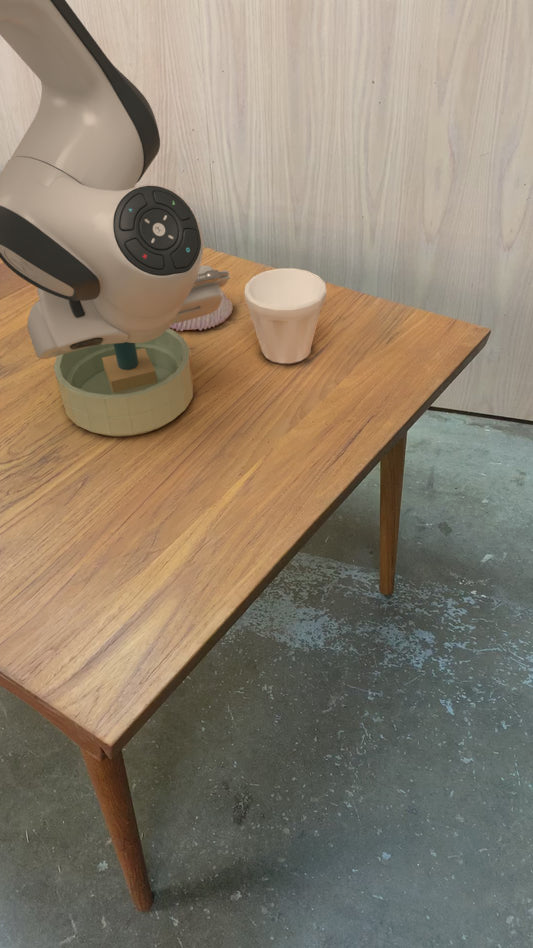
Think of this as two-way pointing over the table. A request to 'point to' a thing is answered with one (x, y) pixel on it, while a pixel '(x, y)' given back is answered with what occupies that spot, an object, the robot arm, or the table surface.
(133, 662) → the table surface
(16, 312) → the table surface
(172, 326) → the seashell
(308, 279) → the cup
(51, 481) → the table surface
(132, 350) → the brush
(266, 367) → the table surface
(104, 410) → the bowl
